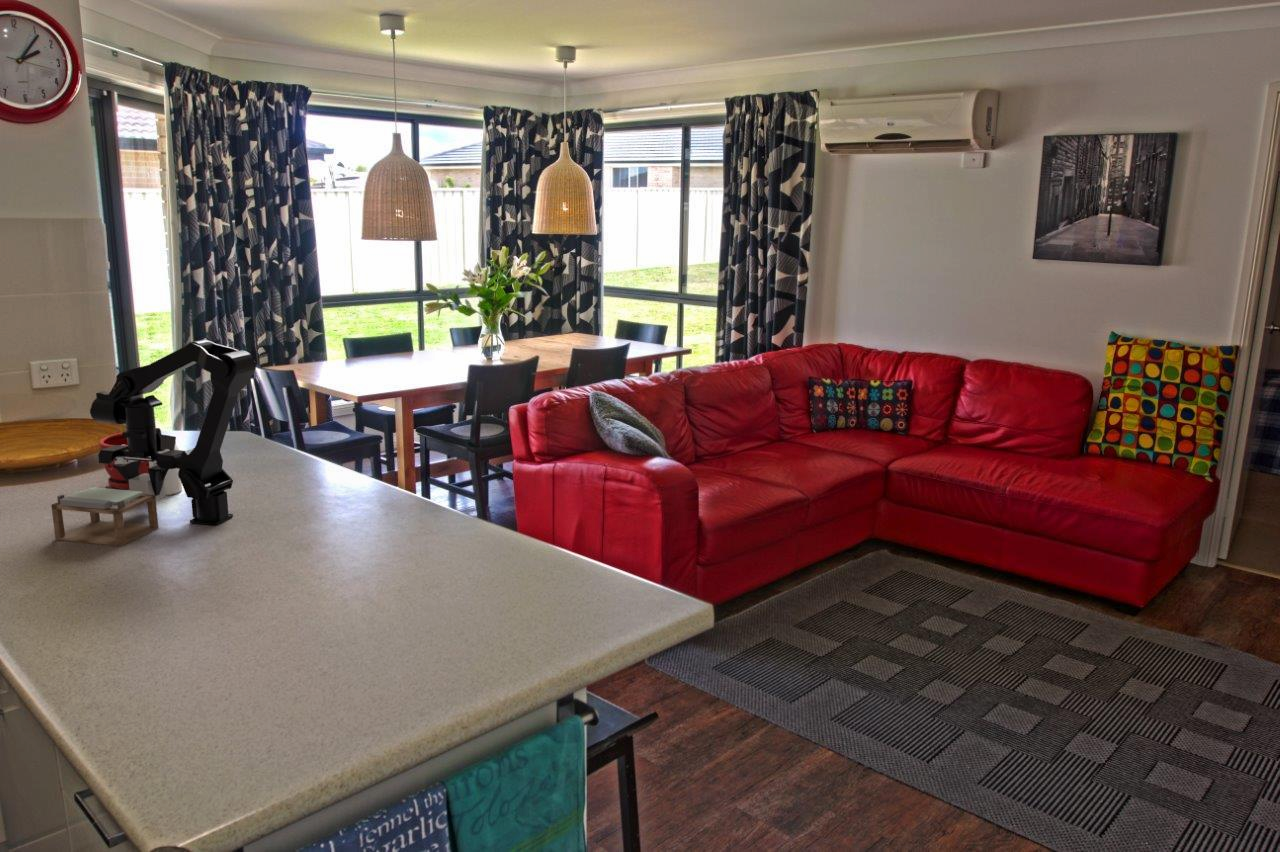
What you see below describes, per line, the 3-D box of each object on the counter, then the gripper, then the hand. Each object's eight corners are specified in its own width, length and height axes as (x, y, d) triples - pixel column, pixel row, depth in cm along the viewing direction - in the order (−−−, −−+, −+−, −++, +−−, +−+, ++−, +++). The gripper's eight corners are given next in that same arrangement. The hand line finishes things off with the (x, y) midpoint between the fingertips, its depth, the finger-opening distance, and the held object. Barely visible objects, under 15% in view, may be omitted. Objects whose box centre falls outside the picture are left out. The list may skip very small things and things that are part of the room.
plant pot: (106, 480, 232) (101, 433, 229) (165, 475, 237) (161, 429, 234) (101, 495, 220) (96, 445, 217) (164, 489, 226) (159, 441, 223)
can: (173, 496, 221) (169, 447, 218) (146, 495, 221) (141, 446, 218) (187, 488, 227) (183, 440, 224) (160, 487, 227) (156, 439, 224)
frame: (158, 528, 200) (154, 488, 198) (121, 546, 189) (117, 504, 187) (95, 522, 202) (90, 482, 200) (55, 539, 192) (50, 498, 190)
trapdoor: (143, 495, 197) (143, 489, 196) (109, 509, 187) (109, 504, 187) (91, 490, 199) (90, 485, 198) (55, 504, 189) (54, 499, 189)
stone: (164, 496, 211) (162, 474, 209) (149, 503, 206) (147, 481, 205) (146, 494, 211) (144, 473, 210) (130, 501, 207) (128, 479, 205)
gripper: (202, 420, 211) (208, 487, 215) (128, 415, 214) (135, 480, 218) (169, 431, 200) (176, 501, 204) (92, 426, 203) (100, 495, 207)
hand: (147, 494), depth 208 cm, fingers closed on stone, 5 cm apart
